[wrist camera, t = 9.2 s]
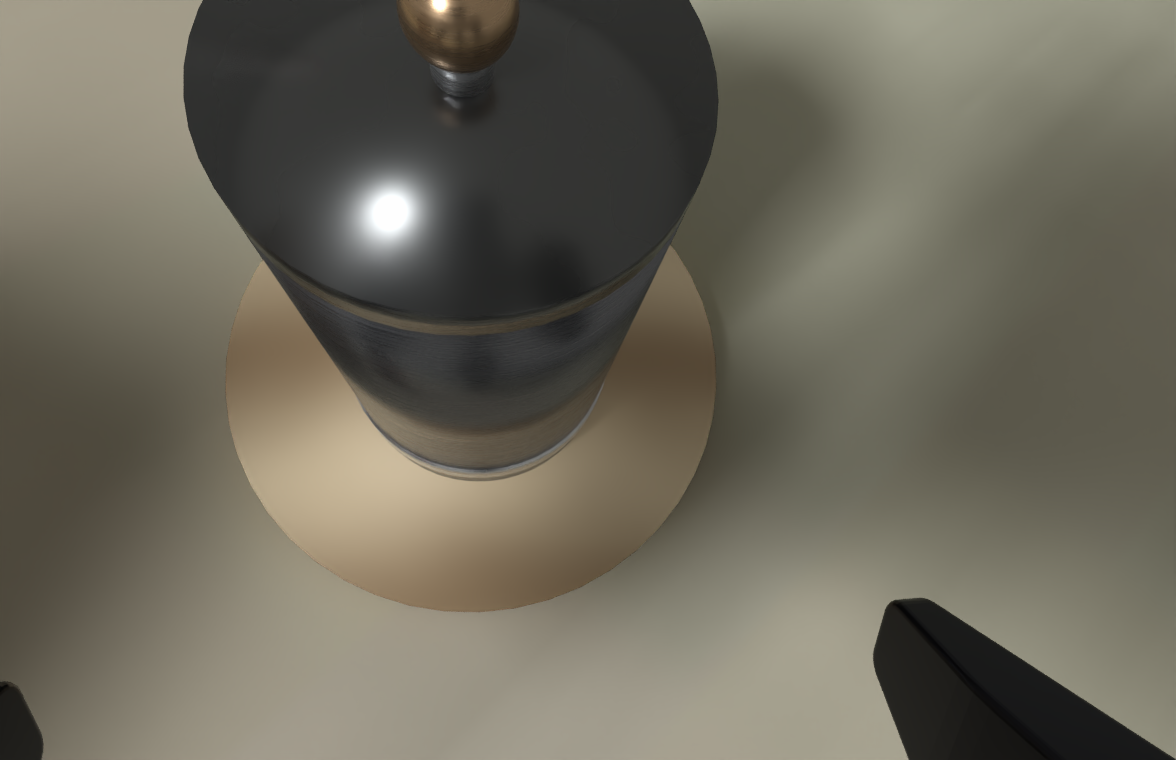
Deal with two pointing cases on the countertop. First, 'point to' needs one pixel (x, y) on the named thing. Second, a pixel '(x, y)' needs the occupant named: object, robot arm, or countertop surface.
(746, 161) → the countertop surface
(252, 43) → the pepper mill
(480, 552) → the smooth tan round disc
